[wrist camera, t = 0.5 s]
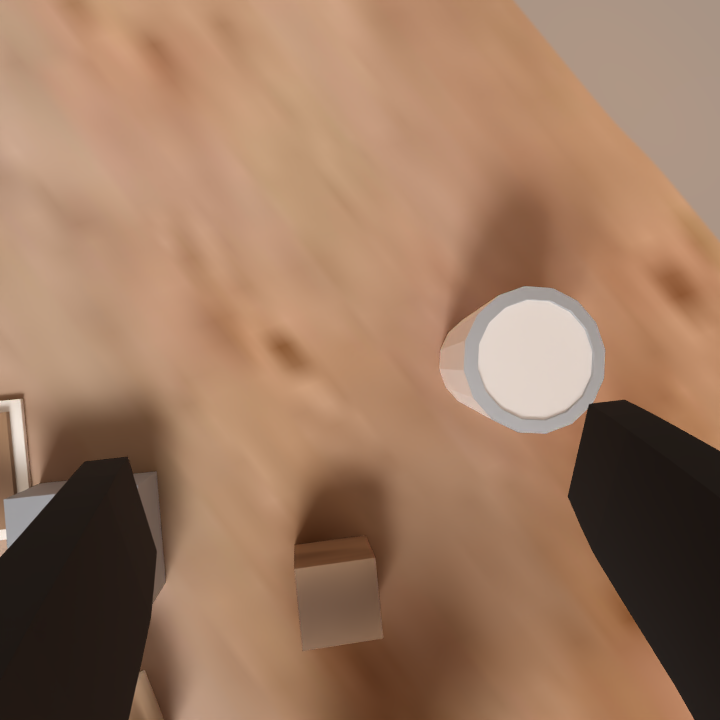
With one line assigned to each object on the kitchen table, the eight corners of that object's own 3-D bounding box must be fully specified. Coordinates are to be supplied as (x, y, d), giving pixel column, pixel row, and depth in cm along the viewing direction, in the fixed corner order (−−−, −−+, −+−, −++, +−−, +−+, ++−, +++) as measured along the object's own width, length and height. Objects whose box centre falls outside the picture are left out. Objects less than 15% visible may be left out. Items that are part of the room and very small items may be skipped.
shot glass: (444, 289, 33) (484, 267, 26) (554, 320, 34) (622, 307, 27) (415, 405, 33) (447, 414, 26) (527, 433, 33) (588, 450, 26)
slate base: (166, 580, 31) (147, 611, 27) (50, 595, 30) (14, 629, 26) (157, 470, 31) (137, 485, 27) (41, 482, 30) (3, 499, 26)
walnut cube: (372, 605, 32) (383, 638, 28) (301, 616, 32) (302, 651, 28) (365, 534, 32) (375, 557, 28) (294, 544, 32) (294, 569, 28)
